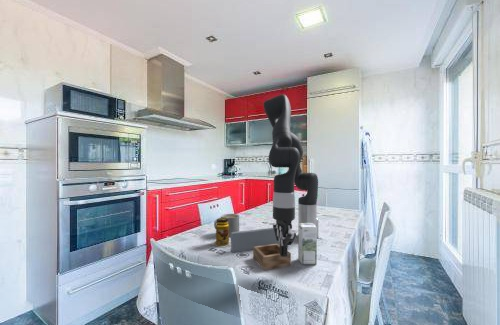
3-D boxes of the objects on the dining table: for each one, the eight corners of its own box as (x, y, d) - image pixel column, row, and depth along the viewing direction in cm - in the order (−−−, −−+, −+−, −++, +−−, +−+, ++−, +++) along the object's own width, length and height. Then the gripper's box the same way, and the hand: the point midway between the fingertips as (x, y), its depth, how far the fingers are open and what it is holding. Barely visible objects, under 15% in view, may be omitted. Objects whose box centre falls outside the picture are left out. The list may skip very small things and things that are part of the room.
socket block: (277, 254, 94) (277, 243, 94) (290, 265, 84) (290, 253, 84) (253, 257, 91) (253, 246, 91) (263, 269, 80) (263, 257, 80)
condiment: (223, 247, 102) (223, 221, 102) (209, 244, 106) (209, 219, 106) (232, 242, 108) (232, 217, 108) (218, 239, 112) (218, 215, 112)
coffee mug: (241, 232, 125) (241, 214, 125) (236, 237, 115) (236, 218, 115) (218, 230, 128) (218, 213, 128) (211, 236, 118) (211, 217, 118)
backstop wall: (280, 244, 106) (280, 227, 106) (282, 245, 104) (282, 228, 104) (230, 250, 98) (230, 232, 98) (232, 252, 96) (232, 233, 96)
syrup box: (312, 258, 90) (312, 222, 90) (317, 265, 84) (317, 226, 84) (298, 258, 90) (298, 222, 90) (302, 265, 84) (301, 226, 84)
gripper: (304, 208, 72) (303, 262, 72) (284, 201, 85) (284, 247, 85) (283, 209, 70) (282, 265, 70) (266, 202, 82) (265, 250, 82)
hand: (283, 255), depth 77 cm, fingers closed
